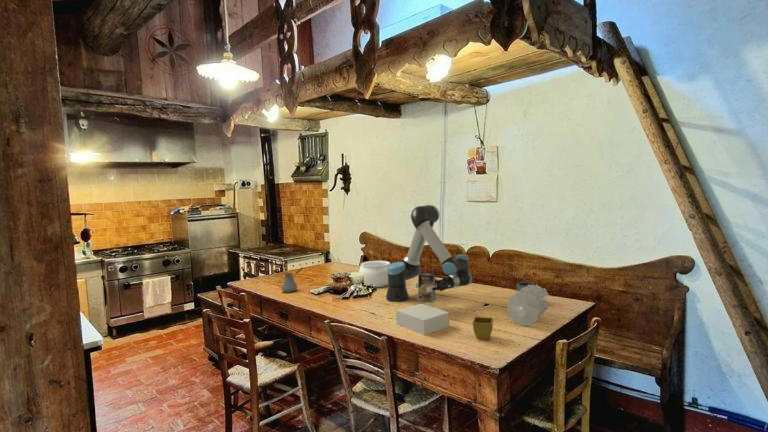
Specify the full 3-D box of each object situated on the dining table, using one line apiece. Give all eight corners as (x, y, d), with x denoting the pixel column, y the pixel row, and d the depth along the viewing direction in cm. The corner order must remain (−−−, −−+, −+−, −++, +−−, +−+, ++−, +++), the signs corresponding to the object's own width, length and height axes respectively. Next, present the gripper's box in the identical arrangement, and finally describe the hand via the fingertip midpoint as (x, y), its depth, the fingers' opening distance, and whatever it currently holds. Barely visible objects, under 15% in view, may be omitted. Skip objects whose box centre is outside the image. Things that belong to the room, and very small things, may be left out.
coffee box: (418, 301, 235) (417, 274, 233) (420, 298, 241) (420, 272, 239) (433, 303, 232) (433, 275, 230) (435, 299, 238) (435, 273, 236)
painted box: (396, 324, 217) (395, 310, 217) (421, 317, 228) (420, 303, 227) (424, 335, 200) (423, 320, 199) (449, 327, 210) (449, 312, 210)
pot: (401, 283, 309) (401, 262, 308) (378, 290, 289) (378, 268, 288) (373, 278, 328) (373, 258, 327) (350, 285, 309) (349, 264, 307)
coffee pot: (289, 293, 289) (288, 273, 288) (278, 292, 295) (277, 272, 294) (309, 287, 307) (308, 267, 306) (298, 285, 313) (297, 266, 312)
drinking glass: (515, 304, 245) (515, 284, 244) (518, 299, 253) (518, 281, 253) (533, 305, 240) (532, 286, 239) (535, 301, 249) (535, 282, 248)
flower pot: (472, 340, 191) (472, 322, 190) (475, 334, 199) (474, 316, 198) (491, 342, 188) (491, 323, 187) (493, 335, 196) (493, 317, 195)
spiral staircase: (513, 333, 208) (526, 317, 228) (545, 324, 198) (556, 308, 218) (497, 301, 210) (512, 287, 231) (528, 290, 200) (540, 277, 221)
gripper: (463, 292, 235) (433, 298, 224) (438, 284, 255) (409, 289, 244) (463, 279, 235) (433, 285, 223) (438, 272, 254) (409, 277, 243)
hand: (421, 287), depth 234 cm, fingers closed on coffee box, 11 cm apart
